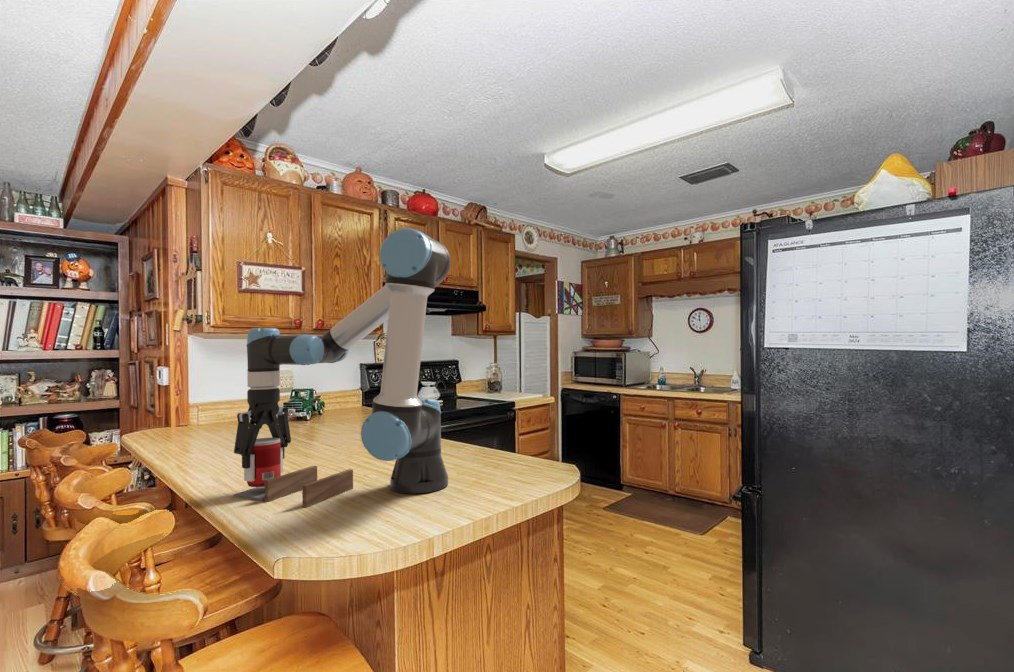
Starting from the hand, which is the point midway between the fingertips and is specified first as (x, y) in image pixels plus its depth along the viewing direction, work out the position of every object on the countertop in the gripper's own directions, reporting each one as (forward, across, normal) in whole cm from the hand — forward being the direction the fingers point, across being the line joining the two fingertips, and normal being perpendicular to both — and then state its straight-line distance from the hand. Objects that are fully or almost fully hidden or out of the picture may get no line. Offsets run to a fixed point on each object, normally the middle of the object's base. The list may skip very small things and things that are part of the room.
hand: (264, 476), depth 126 cm
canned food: (+2, 0, 0) cm, 2 cm away
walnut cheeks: (+4, -3, +13) cm, 14 cm away
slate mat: (+4, 0, 0) cm, 4 cm away
